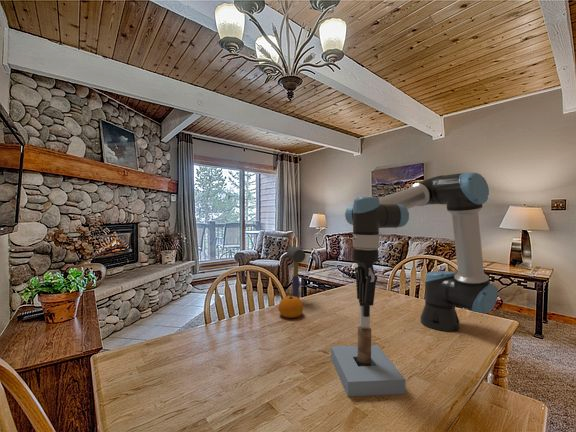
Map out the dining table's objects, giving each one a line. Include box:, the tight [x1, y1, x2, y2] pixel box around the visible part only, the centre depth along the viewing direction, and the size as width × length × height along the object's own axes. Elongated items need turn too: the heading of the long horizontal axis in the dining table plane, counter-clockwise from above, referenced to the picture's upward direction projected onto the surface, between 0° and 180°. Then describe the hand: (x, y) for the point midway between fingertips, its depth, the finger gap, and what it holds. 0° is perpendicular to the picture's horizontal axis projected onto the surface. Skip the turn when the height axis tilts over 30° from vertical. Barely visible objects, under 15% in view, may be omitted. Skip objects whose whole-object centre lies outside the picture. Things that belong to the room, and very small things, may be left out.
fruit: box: [278, 294, 304, 319], centre depth 136 cm, size 12×12×10 cm
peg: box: [357, 325, 372, 367], centre depth 88 cm, size 4×4×14 cm
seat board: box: [330, 344, 407, 397], centre depth 88 cm, size 16×20×4 cm
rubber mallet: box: [286, 246, 306, 299], centre depth 153 cm, size 12×8×30 cm, turn 16°
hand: (364, 325), depth 88 cm, fingers closed
